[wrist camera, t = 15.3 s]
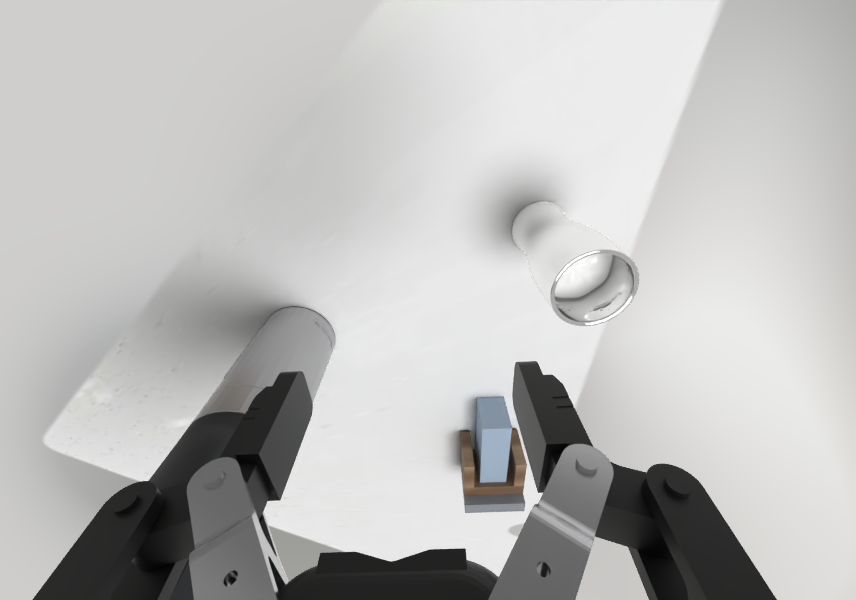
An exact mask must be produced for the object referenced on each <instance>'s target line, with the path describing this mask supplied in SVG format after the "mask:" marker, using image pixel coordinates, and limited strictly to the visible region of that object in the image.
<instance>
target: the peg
mask: <svg viewBox="0 0 856 600" xmlns="http://www.w3.org/2000/svg"><path fill="white" fill-rule="evenodd" d="M511 433H512V426H511V422H510V419H509V415H508V411H507V407H506V403H505V399H504V397H477V416H476V444H475V451H476V458H477V465H478V472H479V480H480V483H487V482H506V478H507V469H508V460H509V451H510V442H511Z"/></svg>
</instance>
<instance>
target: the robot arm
mask: <svg viewBox="0 0 856 600" xmlns="http://www.w3.org/2000/svg"><path fill="white" fill-rule="evenodd" d="M334 345H335V335H334V331H333V329H332V327H331V325H330V324H329V323H328V322H327V321H326V320H325V319H324V318H323V317H322V316H321V315H319V314H317V313H316V312H314V311H311V310H309V309H306V308H300V307H288V308H283V309H281V310H278V311H276V312H275V313H274V314H272V315H271V316H270V318H269V319H268V320H267V322H266V323H265V324H264V326H263V327H262V328H261V329H260V330H259V331H258V332H257V333H256V335H255V336H254V337H253V339H252V340H251V341H250V343H249V344H248V346H247V347H246V348H245V350H244V351H243V352H242V354H241V355H240V356H239V358H238V359H237V360H236V362H235V363H234V364H233V366H232V367H231V368H230V370H229V371H228V373H227V374H226V375H225V377H224V380H223V381H222V383H221V384H220V385H219V387H218V388H217V389H216V391H215V392H214V393H213V395H212V396H211V398H210V399H209V400H208V402H207V403H206V405H205V406H204V407H203V409H202V410H201V411H200V413H199V414H198V415H197V417H196V418H195V420H194V421H193V422H192V424H191V425H190V426H189V428H188V429H187V430H186V432H185V433H184V435H183V436H182V437H181V439H180V440H179V441H178V443H177V444H176V445H175V447H174V448H173V449H172V451H171V452H170V453H169V455H168V456H167V457H166V459H165V460H164V461H163V462H162V464H161V465H160V466H159V468H158V469H157V470H156V472H155V473H154V474H153V476H152V477H151V478H150V480H149V481H142V482H137V483H134V484H131V485H129V486H127V487H125V488H123V489H122V490H120V491H119V492H117V493H116V494H114V495H113V496H112V497H111V498H110V499H109V500H108V501H107V502H106V503H105V504H104V505H103V507H102V508H101V509H100V510H99V512H98V513H97V514H96V516H95V517H94V519H93V520H92V521H91V522H90V524H89V525H88V526H87V528H86V529H85V530H84V532H83V533H82V534H81V536H80V537H79V538H78V540H77V541H76V543H75V544H74V545H73V547H72V548H71V549H70V550H69V552H68V553H67V554H66V556H65V557H64V558H63V560H62V561H61V563H60V564H59V565H58V566H57V568H56V569H55V570H54V572H53V573H52V575H51V576H50V577H49V579H48V580H47V581H46V583H45V584H44V585H43V586H42V588H41V589H40V590H39V592H38V593H37V595H36V596H35V597H34V599H33V600H575V599H576V595H577V592H578V589H579V586H580V583H581V580H582V576H583V573H584V570H585V567H586V564H587V560H588V557H589V554H590V551H591V547H592V544H593V541H594V537H595V536H596V537H599V538H602V539H605V540H608V541H611V542H615V543H618V544H621V545H624V546H627V547H628V548H629V550H630V553H631V555H632V558H633V560H634V563H635V565H636V568H637V570H638V573H639V575H640V578H641V581H642V583H643V585H644V588H645V590H646V593H647V596H648V598H649V600H777V599H776V598H775V596H774V595H773V593H772V592H771V590H770V589H769V587H768V586H767V584H766V583H765V581H764V580H763V578H762V576H761V575H760V573H759V572H758V570H757V569H756V567H755V566H754V564H753V563H752V561H751V559H750V558H749V556H748V555H747V554H746V552H745V550H744V549H743V547H742V546H741V544H740V543H739V541H738V540H737V538H736V537H735V535H734V533H733V532H732V531H731V529H730V527H729V526H728V524H727V523H726V521H725V520H724V518H723V517H722V515H721V514H720V512H719V510H718V509H717V507H716V506H715V504H714V503H713V501H712V500H711V498H710V497H709V495H708V494H707V492H706V491H705V489H704V488H703V486H702V485H701V484H700V483H699V481H698V480H697V479H696V478H694V477H693V476H692V475H691V474H689V473H688V472H686V471H685V470H683V469H681V468H679V467H676V466H673V465H669V464H656V465H653V466H652V467H650V468H649V470H648V471H647V473H646V472H642V471H638V470H633V469H630V468H626V467H622V466H619V465H616V464H614V463H612V462H610V461H609V459H608V458H607V457H606V456H605V455H604V454H603V453H602V452H600V451H599V450H597V449H596V448H594V447H593V445H592V443H591V442H590V439H589V437H588V435H587V433H586V431H585V429H584V427H583V425H582V423H581V421H580V419H579V417H578V415H577V412H576V410H575V408H573V404H572V402H571V400H570V398H569V396H568V394H567V392H566V390H565V387H564V385H563V384H562V383H561V382H560V381H559V380H558V379H557V378H555V377H554V376H553V375H543V374H542V372H541V369H540V367H539V365H538V363H537V362H536V361H531V362H516V363H515V370H514V382H513V405H514V410H515V413H516V417H517V420H518V424H519V427H520V431H521V434H522V438H523V442H524V445H525V449H526V452H527V456H528V459H529V463H530V466H531V470H532V473H533V477H534V480H535V484H536V487H537V491H538V493H542V492H544V493H543V495H542V497H541V499H540V501H539V503H538V504H535V505H534V506H533V508H532V510H531V512H530V514H529V516H528V518H527V520H526V522H525V524H524V527H523V528H522V530H521V532H520V534H519V537H518V539H517V541H516V543H515V545H514V547H513V549H512V551H511V553H510V555H509V557H508V559H507V562H506V564H505V566H504V568H503V570H502V572H501V574H500V576H499V577H498V576H496V575H495V574H494V573H493V572H491V571H490V570H488V569H486V568H485V567H483V566H481V565H479V564H477V563H474V562H471V561H468V560H466V549H434V550H427V551H424V552H421V553H418V554H415V555H412V556H409V557H406V558H403V559H400V560H397V561H392V562H390V561H386V560H382V559H379V558H375V557H372V556H368V555H365V554H361V553H358V552H335V553H320V557H319V561H318V565H317V566H315V567H313V568H310V569H308V570H306V571H304V572H303V573H301V574H299V575H298V576H296V577H295V578H294V579H292V580H291V581H290V582H289V581H288V578H287V576H286V574H285V571H284V569H283V567H282V564H281V561H280V558H279V555H278V552H277V549H276V546H275V543H274V540H273V538H272V535H271V532H270V529H269V526H268V523H267V520H266V517H265V514H264V512H263V511H264V508H265V506H266V503H267V501H275V500H281V497H282V494H283V491H284V489H285V486H286V483H287V481H288V478H289V475H290V473H291V470H292V467H293V464H294V462H295V459H296V456H297V454H298V451H299V448H300V446H301V443H302V440H303V437H304V435H305V432H306V429H307V427H308V424H309V421H310V418H311V415H312V409H313V404H312V403H313V401H314V398H315V395H316V393H317V390H318V388H319V385H320V382H321V380H322V377H323V375H324V372H325V369H326V367H327V364H328V362H329V359H330V357H331V354H332V351H333V349H334Z"/></svg>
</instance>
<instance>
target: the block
mask: <svg viewBox="0 0 856 600" xmlns="http://www.w3.org/2000/svg"><path fill="white" fill-rule="evenodd" d="M461 466H462V476H463V487H464V496H468V495H497V494H523V489H524V481H525V474H526V466H527V464H526V461H525V457H524V453H523V450H522V446H521V442H520V439H519V435H518V431H517V430H512V433H511V442H510V451H509V460H508V469H507V478H506V482H487V483H480V480H479V472H478V465H477V458H476V452H473V451H472V443H471V436H470V431H468V432H461Z"/></svg>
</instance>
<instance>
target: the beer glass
mask: <svg viewBox="0 0 856 600" xmlns="http://www.w3.org/2000/svg"><path fill="white" fill-rule="evenodd" d="M512 237H513V240H514V242H515V244H516V245H517V247H518V248H519V249H521V250H522V251H524V252H525V253H526V257H527V262H528V267H529V271H530V274H531V277H532V279H533V281H534V283H535V285H536V287H537V289H538V290H539V292H540V293H541V295H542V296H543V298H544V299H545V300H546V301H547V303H548V304H549V305H550V306H551V307H552V309H553V310H554V312H555V313H556V314H557V316H558V317H560V318H561V319H562V320H564V321H565V322H567V323H570V324H573V325H577V326H592V325H597V324H601V323H604V322H606V321H608V320H610V319H612V318H614V317H615V316H617V315H618V314H620V313H621V312H622V311H623V310H624V309H625V308H626V307H627V306H628V305H629V304H630V303H631V301H632V300H633V298H634V296H635V294H636V292H637V289H638V285H639V273H638V269H637V267H636V265H635V263H634V262H633V261H632V259H631V258H629V257H628V256H627V255H626V254H625V253H624V252H623V251H622V250H621V249H620V248H619V247H618V246H617V245H616V244H615V243H614V242H613V241H611V240H610V239H609V238H608V237H607V236H605V235H604V234H603V233H601V232H600V231H598V230H596V229H595V228H593V227H591V226H588V225H586V224H584V223H581V222H578V221H575V220H571V219H568V218H567V217H566V215H565V213H564V212H563V210H562V209H561V208H560V207H559V206H557V205H556V204H554V203H551V202H547V201H540V202H535V203H532V204H530V205H528V206H526V207H525V208H524V209H522V210H521V211H520V212H519V214H518V215H517V216H516V218H515V220H514V223H513V226H512Z"/></svg>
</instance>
